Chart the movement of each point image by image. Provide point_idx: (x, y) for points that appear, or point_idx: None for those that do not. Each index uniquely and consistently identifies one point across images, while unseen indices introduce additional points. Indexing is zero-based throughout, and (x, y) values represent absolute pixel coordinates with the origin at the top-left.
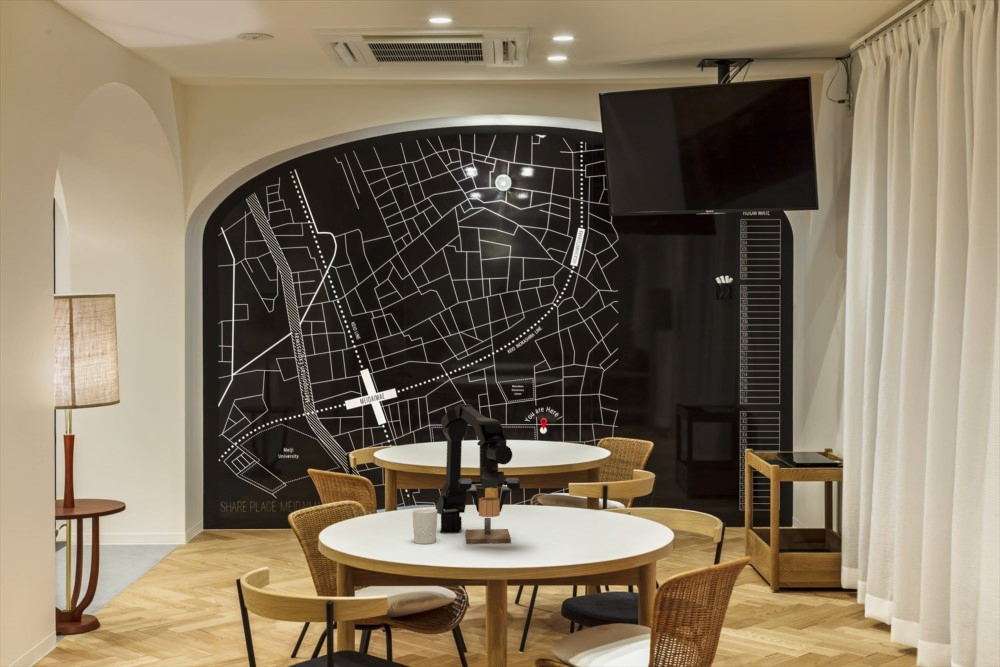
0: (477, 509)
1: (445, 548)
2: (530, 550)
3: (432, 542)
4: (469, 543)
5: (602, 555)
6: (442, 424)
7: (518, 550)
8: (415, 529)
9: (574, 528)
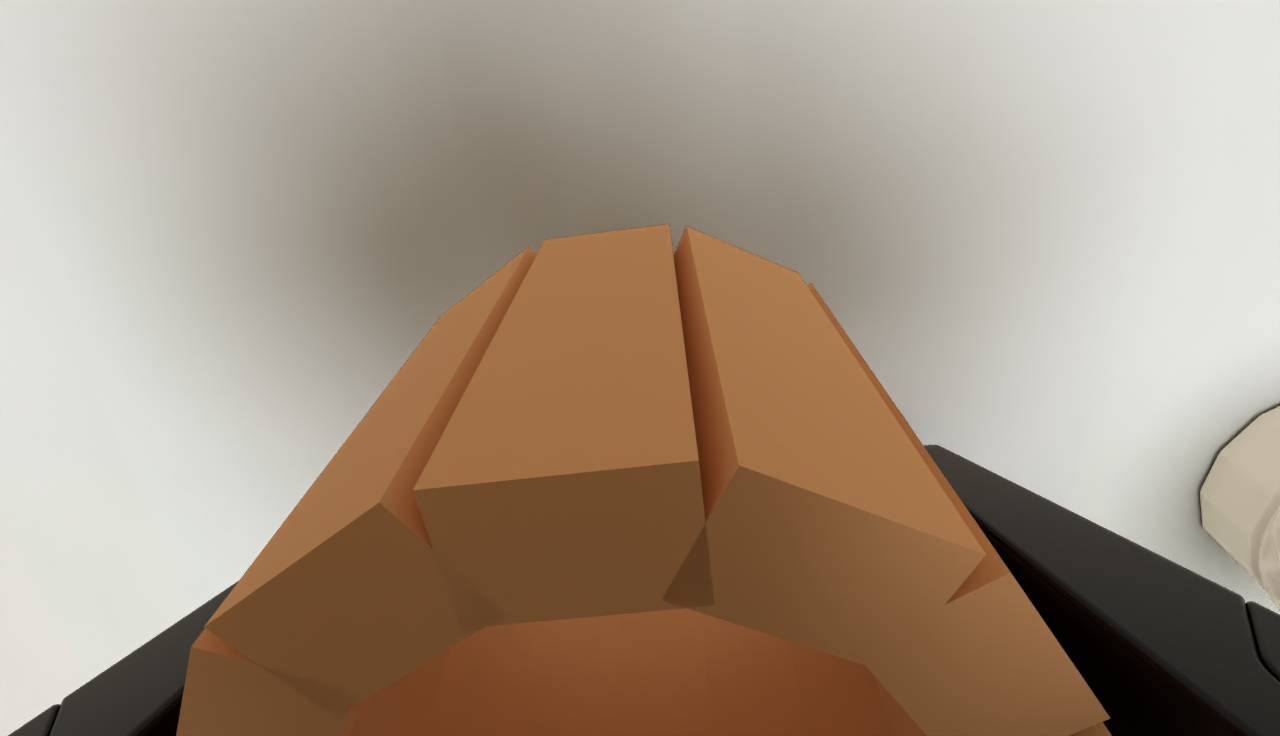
0: (967, 471)
1: (1160, 172)
2: (132, 111)
3: (1256, 425)
4: None
5: None
6: None
7: (273, 102)
8: None
9: None
